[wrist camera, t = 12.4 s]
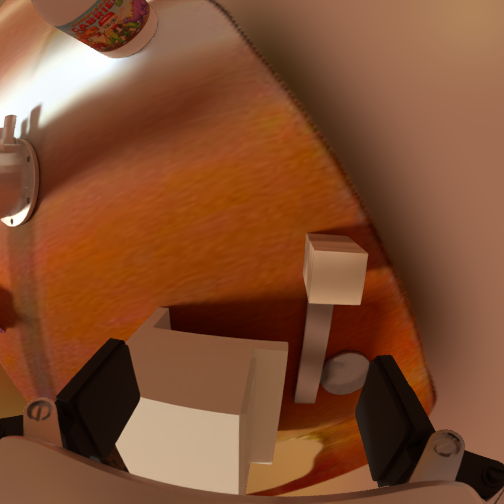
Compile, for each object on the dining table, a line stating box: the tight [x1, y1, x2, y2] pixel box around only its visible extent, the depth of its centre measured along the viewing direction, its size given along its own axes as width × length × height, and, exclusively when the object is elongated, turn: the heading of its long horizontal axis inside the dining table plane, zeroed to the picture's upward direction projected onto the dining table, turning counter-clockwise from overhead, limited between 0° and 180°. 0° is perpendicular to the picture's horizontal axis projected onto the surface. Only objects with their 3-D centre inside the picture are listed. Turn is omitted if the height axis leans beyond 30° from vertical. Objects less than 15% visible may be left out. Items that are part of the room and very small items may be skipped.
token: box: [320, 350, 370, 395], centre depth 29 cm, size 6×6×1 cm
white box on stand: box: [115, 307, 288, 495], centre depth 25 cm, size 18×14×14 cm
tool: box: [294, 233, 368, 403], centre depth 25 cm, size 20×4×7 cm, turn 178°
